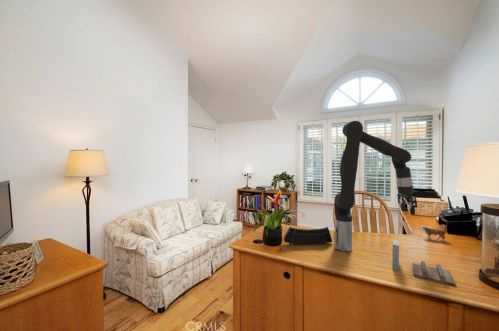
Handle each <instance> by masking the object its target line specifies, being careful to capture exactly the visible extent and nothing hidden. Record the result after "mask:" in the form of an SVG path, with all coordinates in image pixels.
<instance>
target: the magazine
mask: <svg viewBox="0 0 499 331" xmlns="http://www.w3.org/2000/svg"><path fill="white" fill-rule="evenodd" d="M283 241H284V243H287V244H289V246H291V245H300V246H315V245H322V244H328V243H333V239H332V235H331V233H330V229H329V227H328V226H326V227H322V228H315V229H314V228H313V229H312V228H311V229H304V228H303V229H302V228H295V227H292V226H289V227H288V228H287V230H286V232H285V234H284V236H283Z"/></svg>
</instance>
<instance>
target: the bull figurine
mask: <svg viewBox="0 0 499 331" xmlns="http://www.w3.org/2000/svg"><path fill="white" fill-rule="evenodd" d="M419 229H420V230H422V231H423V232H424V234H426V235H427V237H426V240H429V239H431V236H432V235H433V236H435V237H437V236H438V237H437V238H436V240H440V239H441V241H442V242H444V241H445V238H446V237H445V235H446V233H447V232H446V229H441V228H433V227H429V226H425V225H421V226H420V227H419Z"/></svg>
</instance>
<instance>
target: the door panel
mask: <svg viewBox="0 0 499 331" xmlns="http://www.w3.org/2000/svg"><path fill="white" fill-rule="evenodd" d="M399 256H400V240H399V239H393V240H392V261H391V262H392V268H391V269H392V270H395V271H399V268H400V267H399V266H400V265H399V262H400V261H399V260H400V257H399Z"/></svg>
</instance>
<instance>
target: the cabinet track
mask: <svg viewBox="0 0 499 331" xmlns="http://www.w3.org/2000/svg"><path fill="white" fill-rule="evenodd" d="M435 265H436V266H435V267H434V266H428V265H427V263H426V261H425V260H420V263H416V262H415V263H414V262H412V272H413V277H414V278H420V279H424V280H428V281H432V282H436V283H441V284H444V285H449V286H453V287H456V285H457V284H456V281H455V279H454V277H453V274H452V272H451V271H450V270H448V269H443V267H442V265H441V264H439V263H436V264H435Z"/></svg>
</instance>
